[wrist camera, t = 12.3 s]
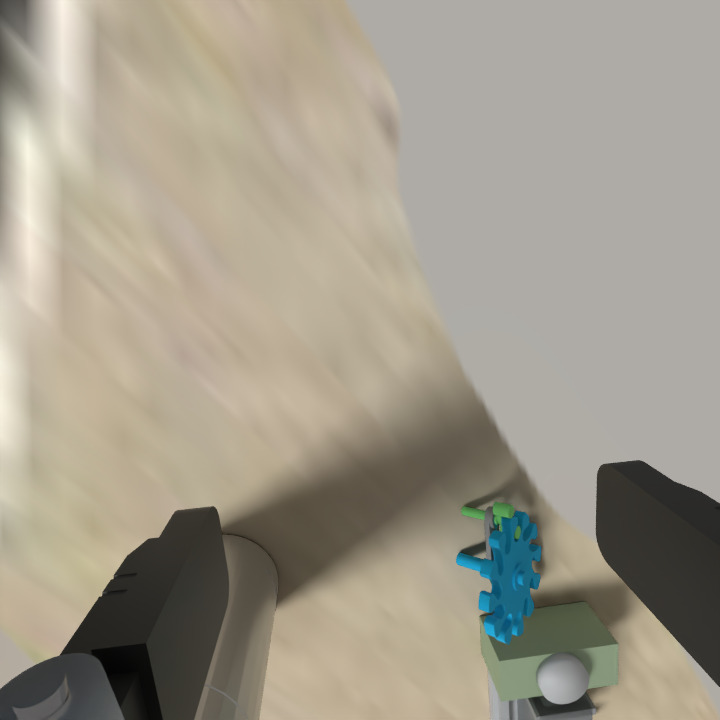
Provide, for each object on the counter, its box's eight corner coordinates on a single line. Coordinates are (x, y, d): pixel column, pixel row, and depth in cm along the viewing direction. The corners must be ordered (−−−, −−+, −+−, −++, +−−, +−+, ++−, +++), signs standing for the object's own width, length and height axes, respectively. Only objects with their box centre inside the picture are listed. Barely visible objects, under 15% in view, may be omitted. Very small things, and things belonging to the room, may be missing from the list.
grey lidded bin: (512, 665, 44) (536, 717, 39) (565, 658, 44) (596, 708, 39) (514, 727, 45) (537, 784, 40) (566, 720, 45) (595, 775, 40)
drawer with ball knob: (486, 733, 46) (509, 802, 40) (479, 616, 43) (503, 671, 38) (585, 718, 47) (623, 784, 41) (585, 601, 44) (625, 653, 38)
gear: (550, 608, 42) (500, 675, 34) (488, 587, 46) (431, 644, 38) (544, 485, 41) (492, 527, 34) (481, 475, 45) (422, 511, 38)
